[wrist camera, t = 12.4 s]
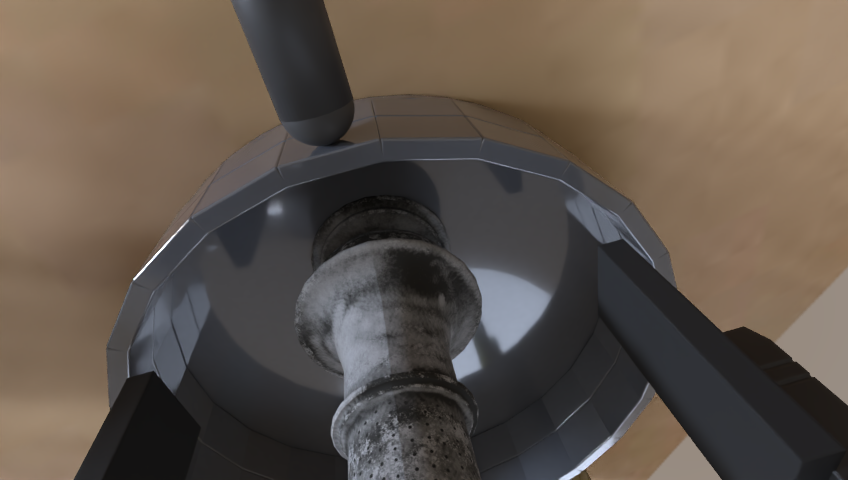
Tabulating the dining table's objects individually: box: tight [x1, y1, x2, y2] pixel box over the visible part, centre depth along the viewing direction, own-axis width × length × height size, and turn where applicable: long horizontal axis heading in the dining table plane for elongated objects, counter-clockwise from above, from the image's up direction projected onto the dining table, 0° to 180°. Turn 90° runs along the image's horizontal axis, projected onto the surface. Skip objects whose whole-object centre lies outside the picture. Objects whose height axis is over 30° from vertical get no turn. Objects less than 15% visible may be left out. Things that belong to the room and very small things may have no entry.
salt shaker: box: [294, 195, 482, 480], centre depth 12 cm, size 6×6×12 cm
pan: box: [106, 95, 677, 480], centre depth 17 cm, size 19×19×4 cm
